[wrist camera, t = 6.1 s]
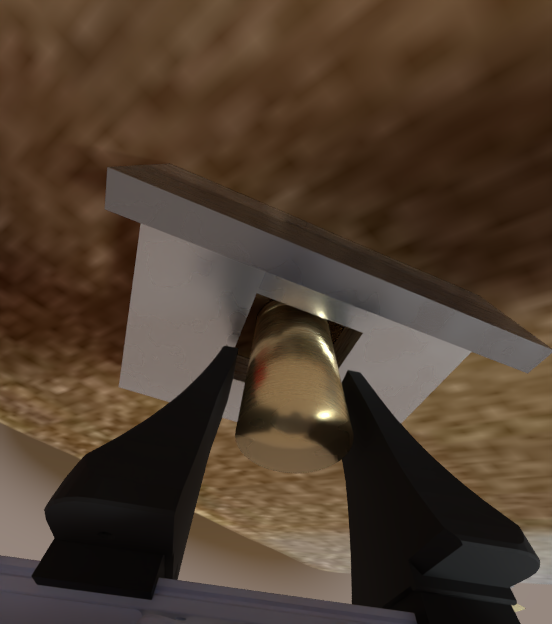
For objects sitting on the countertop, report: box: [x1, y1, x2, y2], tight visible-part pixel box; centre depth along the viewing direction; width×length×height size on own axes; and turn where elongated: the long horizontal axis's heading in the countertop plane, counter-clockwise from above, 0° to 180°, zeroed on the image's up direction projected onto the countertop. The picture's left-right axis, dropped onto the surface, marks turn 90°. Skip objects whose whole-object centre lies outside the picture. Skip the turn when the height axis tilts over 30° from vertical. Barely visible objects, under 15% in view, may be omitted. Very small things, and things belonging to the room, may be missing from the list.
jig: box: [105, 164, 552, 423], centre depth 13 cm, size 16×12×4 cm
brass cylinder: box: [235, 299, 353, 473], centre depth 12 cm, size 4×4×7 cm
